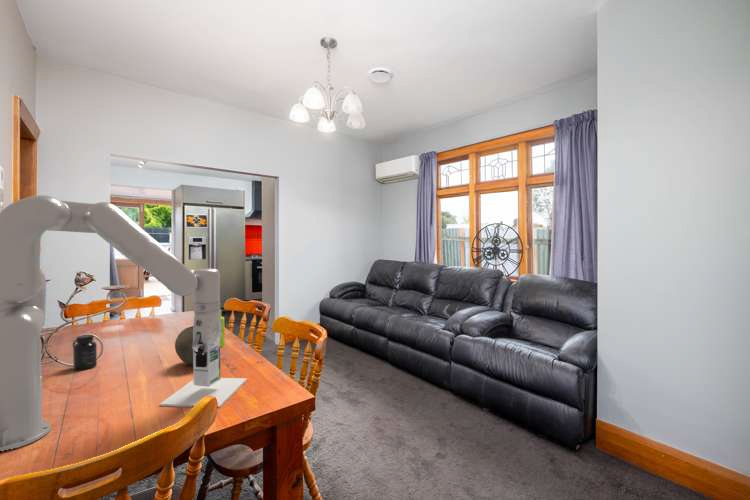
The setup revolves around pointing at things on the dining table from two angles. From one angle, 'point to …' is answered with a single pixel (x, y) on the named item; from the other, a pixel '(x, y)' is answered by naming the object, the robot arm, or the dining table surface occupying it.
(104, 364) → the dining table surface
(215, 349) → the syrup box
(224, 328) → the soap dispenser
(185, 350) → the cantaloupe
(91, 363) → the supplement bottle
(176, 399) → the mat
